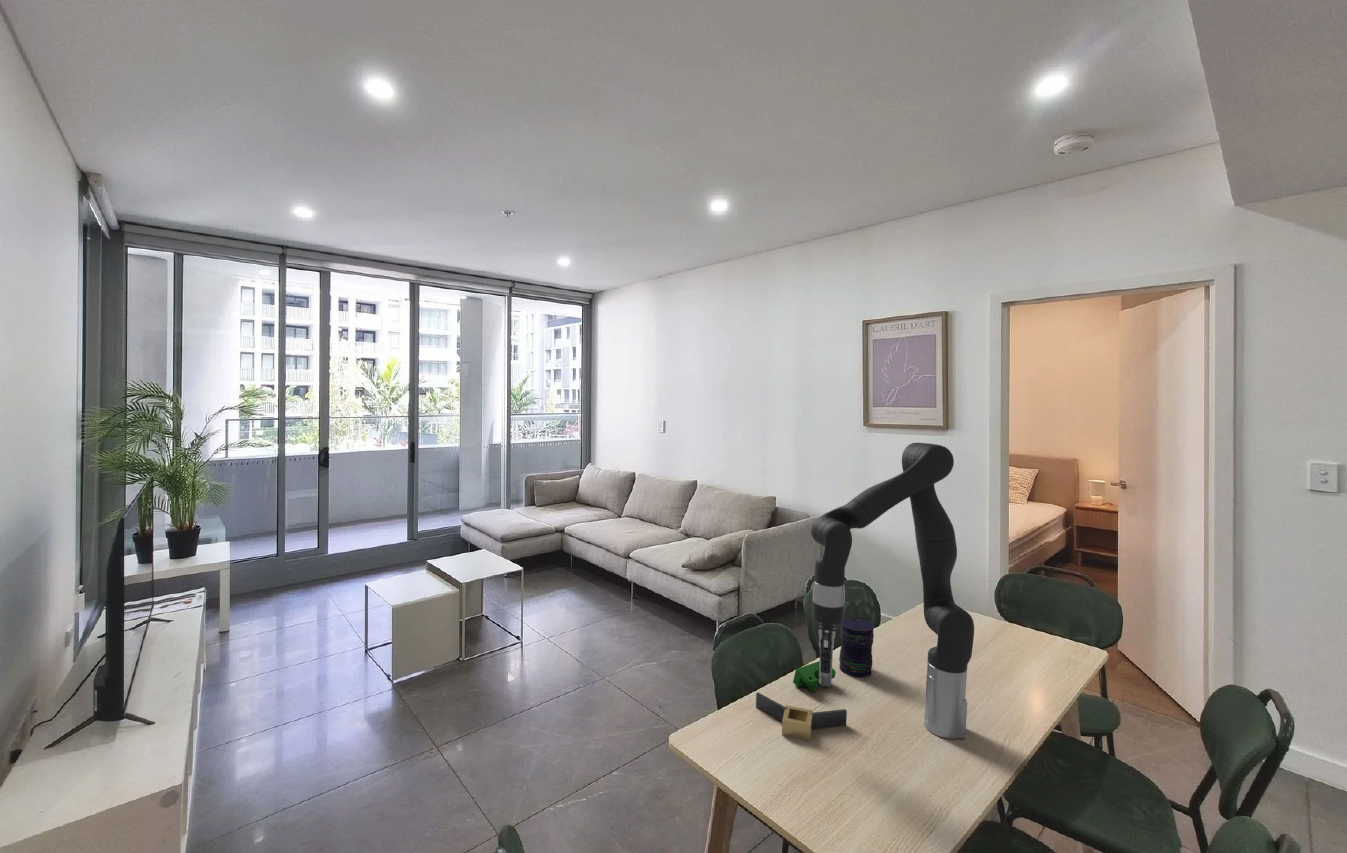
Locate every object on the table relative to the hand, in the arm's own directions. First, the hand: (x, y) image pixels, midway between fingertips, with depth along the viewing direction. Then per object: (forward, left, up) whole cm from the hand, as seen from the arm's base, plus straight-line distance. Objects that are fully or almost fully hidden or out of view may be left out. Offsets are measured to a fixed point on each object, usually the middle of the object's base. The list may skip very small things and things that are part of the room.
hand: (825, 668), depth 135 cm
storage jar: (-8, -42, -20) cm, 46 cm away
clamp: (+4, -27, -20) cm, 33 cm away
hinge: (+6, -5, -19) cm, 21 cm away
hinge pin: (0, 0, -4) cm, 4 cm away
